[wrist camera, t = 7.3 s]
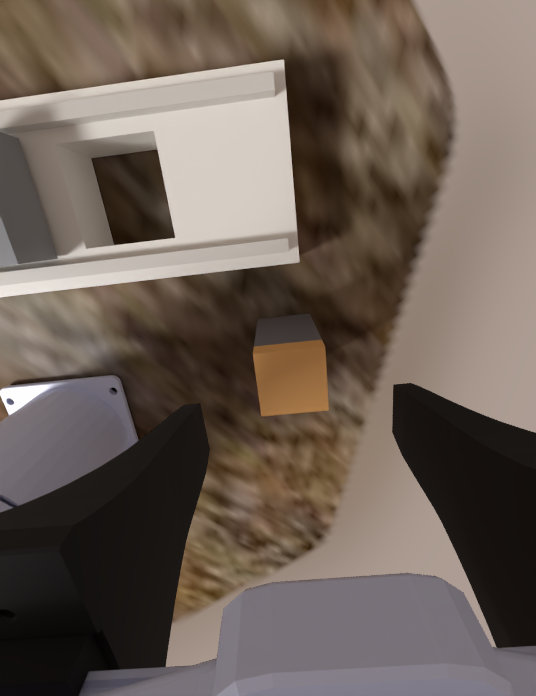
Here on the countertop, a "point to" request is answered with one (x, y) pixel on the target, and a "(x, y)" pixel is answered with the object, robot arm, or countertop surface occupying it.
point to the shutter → (20, 210)
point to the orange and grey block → (290, 366)
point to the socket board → (178, 173)
